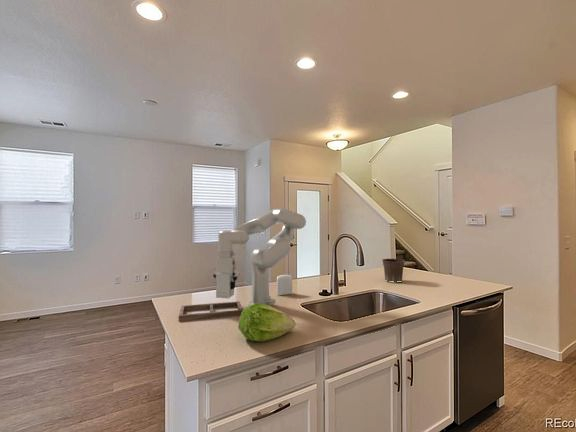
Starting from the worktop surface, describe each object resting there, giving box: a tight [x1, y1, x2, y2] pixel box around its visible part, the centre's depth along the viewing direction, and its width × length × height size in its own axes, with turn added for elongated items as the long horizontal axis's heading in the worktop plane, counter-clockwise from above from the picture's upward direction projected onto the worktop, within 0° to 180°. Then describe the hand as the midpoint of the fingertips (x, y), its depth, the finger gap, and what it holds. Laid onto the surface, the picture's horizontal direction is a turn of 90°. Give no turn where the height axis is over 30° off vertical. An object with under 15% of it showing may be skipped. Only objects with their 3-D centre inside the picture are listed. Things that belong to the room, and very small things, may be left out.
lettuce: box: [238, 303, 296, 342], centre depth 123 cm, size 15×24×16 cm
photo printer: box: [276, 274, 293, 296], centre depth 188 cm, size 10×4×12 cm, turn 107°
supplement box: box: [215, 273, 235, 300], centre depth 154 cm, size 7×7×13 cm
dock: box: [178, 301, 244, 322], centre depth 152 cm, size 16×30×2 cm, turn 105°
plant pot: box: [381, 258, 405, 282], centre depth 224 cm, size 16×16×16 cm
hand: (225, 287), depth 154 cm, fingers closed on supplement box, 8 cm apart
